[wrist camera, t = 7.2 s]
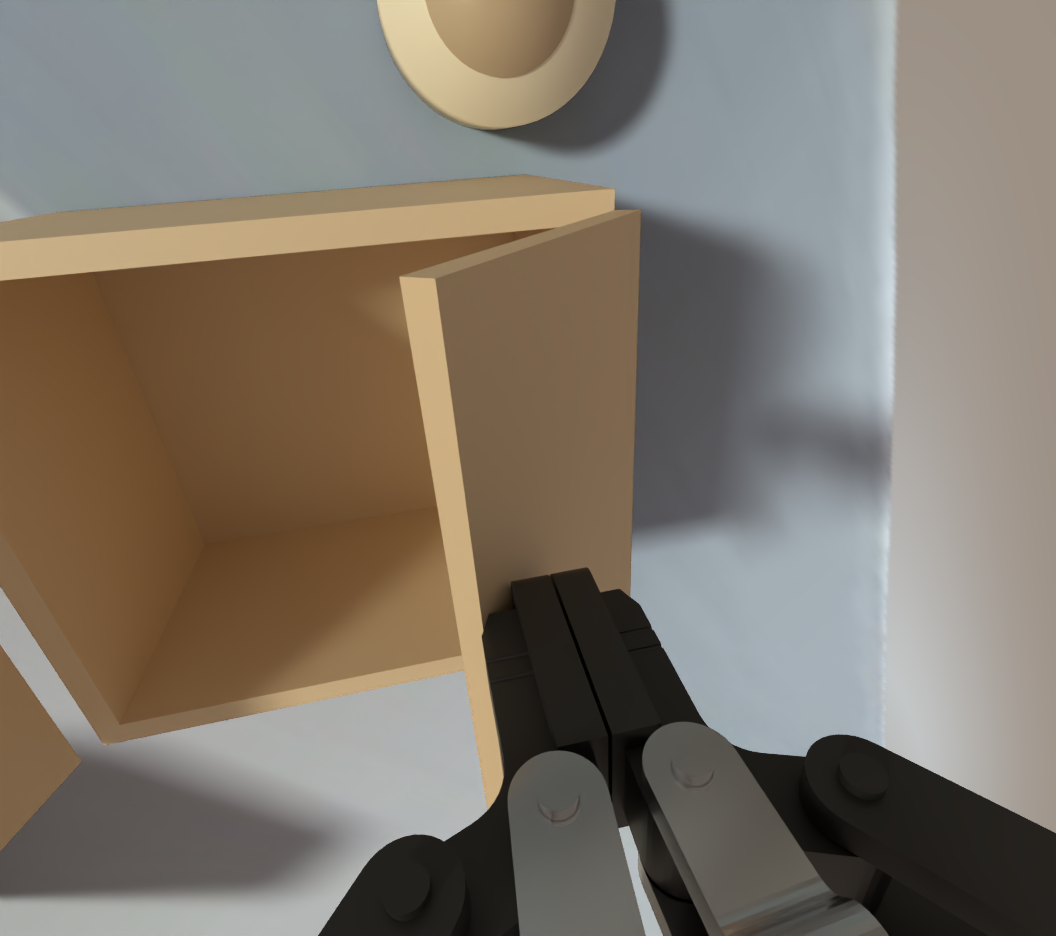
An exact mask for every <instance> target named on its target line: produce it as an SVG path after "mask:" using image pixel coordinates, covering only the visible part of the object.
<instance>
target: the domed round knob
mask: <svg viewBox="0 0 1056 936" xmlns="http://www.w3.org/2000/svg"><path fill="white" fill-rule="evenodd" d="M615 3H616V0H377V7H378V14H379V19H380V24H381V29H382V32H383V35H384V39H385V42H386V45H387V48H388V50H389V52H390V54H391V57H392V59H393V61H394V63H395V65H396V67H397V68H398V70H399V72H400V74H401V75H402V77H403V78H404V80H405V81H406V83H407V84H408V85H409V87H410V88H411V89H412V90H413V92H414V93H415V94H416V95H417V96H418V97H419V98H420V99H421V100H422V101H423V102H424V103H425V104H426V105H428V106H429V107H430V108H431V109H432V110H434V111H435V112H437V113H438V114H440V115H441V116H443V117H444V118H446V119H448V120H450V121H452V122H454V123H457V124H459V125H462V126H466V127H469V128H474V129H480V130H499V129H505V128H511V127H516V126H520V125H525V124H528V123H531V122H535V121H538V120H540V119H542V118H544V117H546V116H548V115H550V114H552V113H553V112H555V111H556V110H558V109H559V108H561V107H562V106H564V105H565V104H566V103H567V102H568V101H569V100H570V99H571V98H573V97H574V96H575V95H576V93H577V92H578V91H579V90H580V89H581V88H582V86H583V85H584V84H585V83H586V81H587V80H588V78H589V77H590V75H591V74H592V72H593V71H594V69H595V67H596V65H597V63H598V61H599V59H600V57H601V55H602V53H603V50H604V48H605V45H606V42H607V40H608V37H609V33H610V29H611V25H612V22H613V16H614V10H615Z"/></svg>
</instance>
